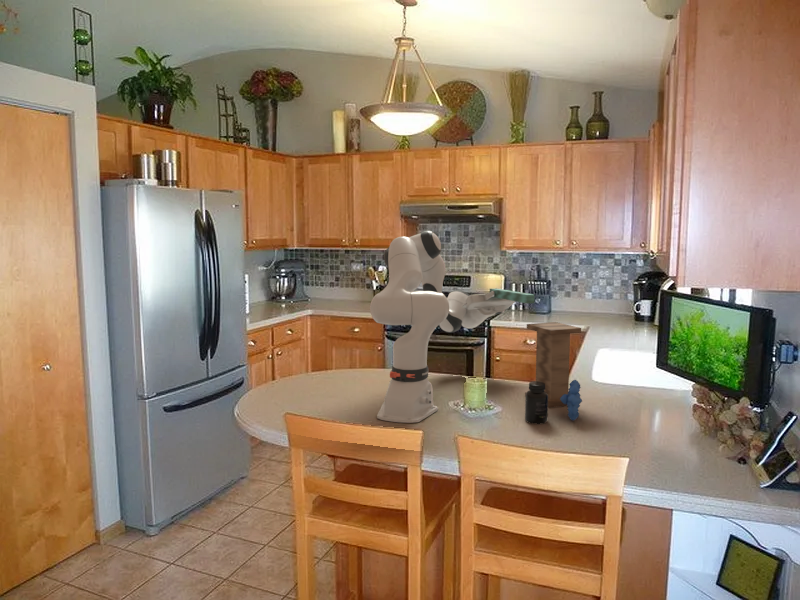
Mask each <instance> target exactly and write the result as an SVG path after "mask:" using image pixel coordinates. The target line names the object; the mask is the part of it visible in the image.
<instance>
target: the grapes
mask: <svg viewBox="0 0 800 600" xmlns="http://www.w3.org/2000/svg"><path fill="white" fill-rule="evenodd" d="M581 388H582V387H581V384H580V382H579V381H578V380H577V379H572V381H571V382H570V383H569V387H568V394H564V395H563V396H562V397H561V398H560V400H561V401H562V403H563V404H567V406H566V407H567V412H568V413H567V417H569V419H570V420H571V421H576V420H577V419H578V417H579V416H580V412H579V409H580V407H581V403H582V402H583V400H582V398H581V394H580V391H581V390H580V389H581Z"/></svg>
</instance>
